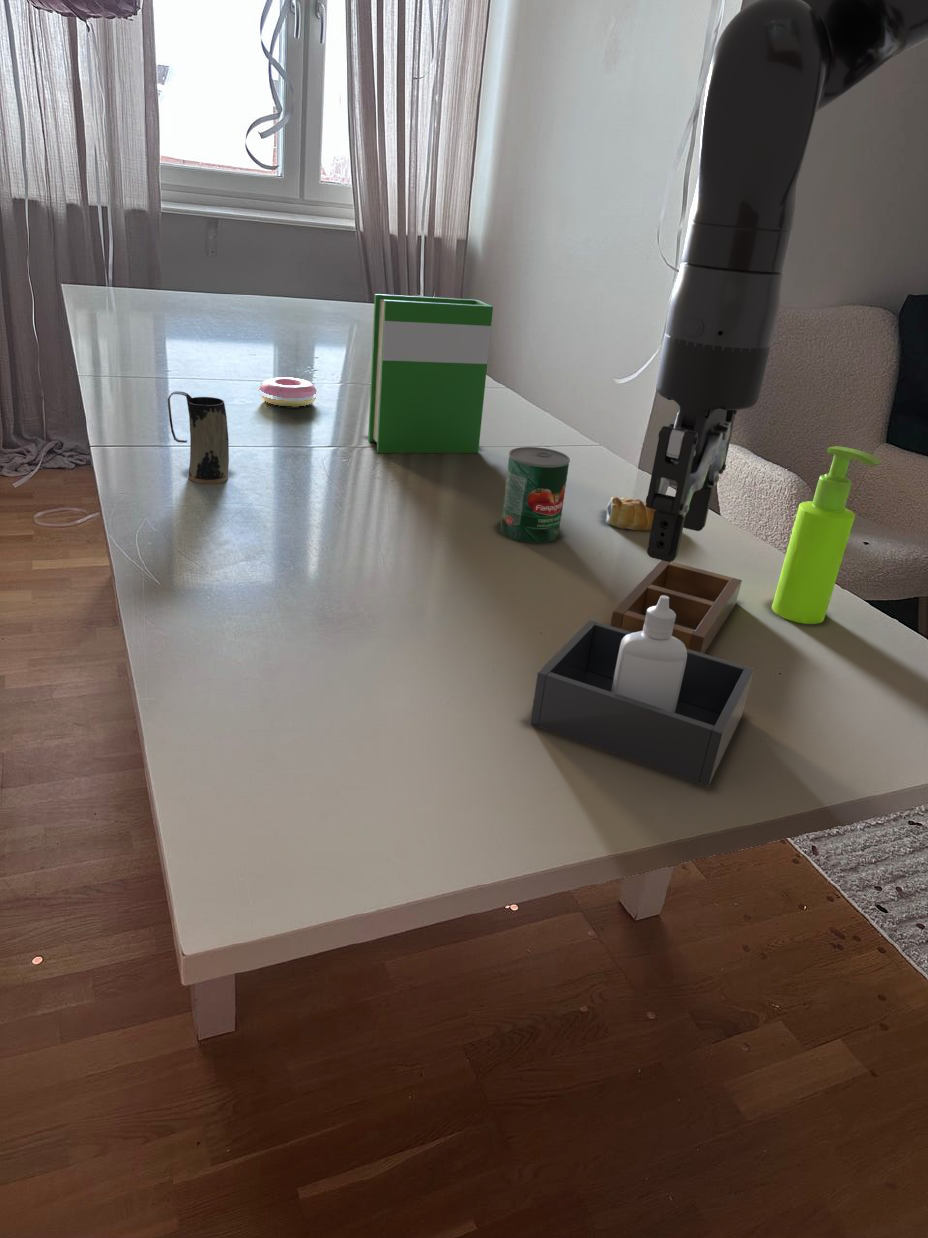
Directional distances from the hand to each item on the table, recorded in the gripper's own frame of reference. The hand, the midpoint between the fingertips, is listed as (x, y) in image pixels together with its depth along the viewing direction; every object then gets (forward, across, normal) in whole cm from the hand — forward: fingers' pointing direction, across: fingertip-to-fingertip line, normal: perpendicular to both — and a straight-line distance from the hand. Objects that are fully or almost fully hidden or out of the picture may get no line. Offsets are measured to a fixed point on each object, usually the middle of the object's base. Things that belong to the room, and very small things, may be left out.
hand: (676, 542), depth 72 cm
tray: (+18, +23, +3) cm, 29 cm away
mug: (+17, +25, +74) cm, 80 cm away
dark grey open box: (+17, 0, 0) cm, 17 cm away
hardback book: (+17, +63, +59) cm, 89 cm away
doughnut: (+17, +71, +94) cm, 119 cm away
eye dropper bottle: (+17, 0, 0) cm, 17 cm away
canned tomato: (+18, +37, +27) cm, 49 cm away
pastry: (+18, +51, +17) cm, 56 cm away
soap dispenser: (+18, +34, -9) cm, 39 cm away
